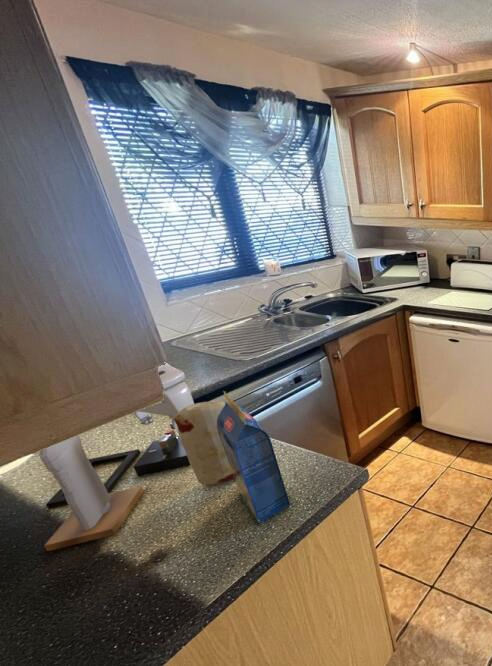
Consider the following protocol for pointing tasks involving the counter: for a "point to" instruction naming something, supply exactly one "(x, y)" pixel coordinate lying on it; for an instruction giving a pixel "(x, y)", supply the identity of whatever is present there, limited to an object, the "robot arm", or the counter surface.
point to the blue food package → (252, 461)
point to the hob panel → (161, 459)
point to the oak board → (104, 527)
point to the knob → (168, 441)
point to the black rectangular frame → (111, 482)
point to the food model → (204, 442)
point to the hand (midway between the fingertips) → (162, 425)
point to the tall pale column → (77, 481)
